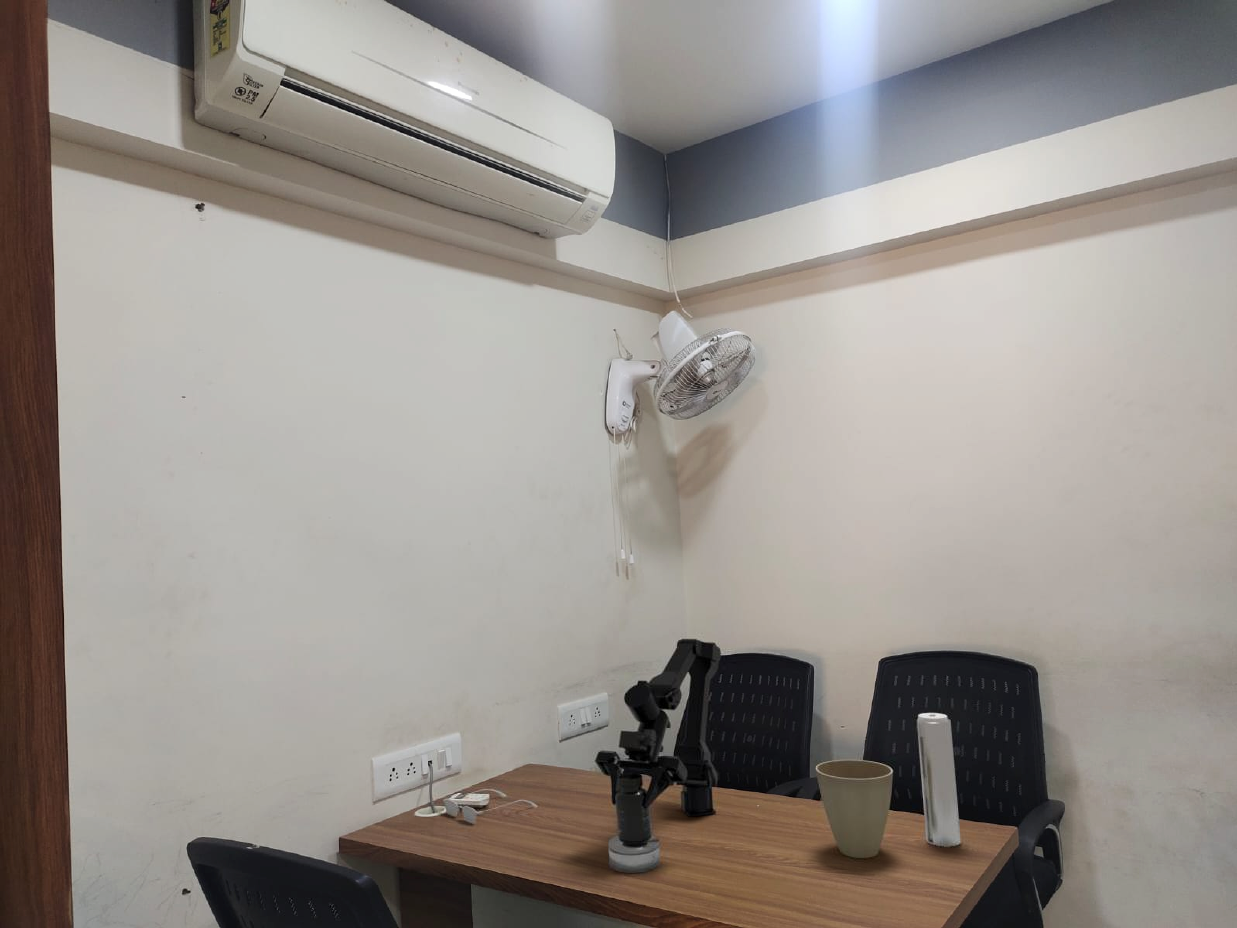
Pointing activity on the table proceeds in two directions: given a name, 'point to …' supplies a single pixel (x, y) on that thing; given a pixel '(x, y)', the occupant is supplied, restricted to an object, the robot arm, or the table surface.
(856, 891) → the table surface
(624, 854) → the grey short cylinder
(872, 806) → the plant pot
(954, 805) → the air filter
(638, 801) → the supplement bottle
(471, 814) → the eyeglasses
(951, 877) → the table surface
